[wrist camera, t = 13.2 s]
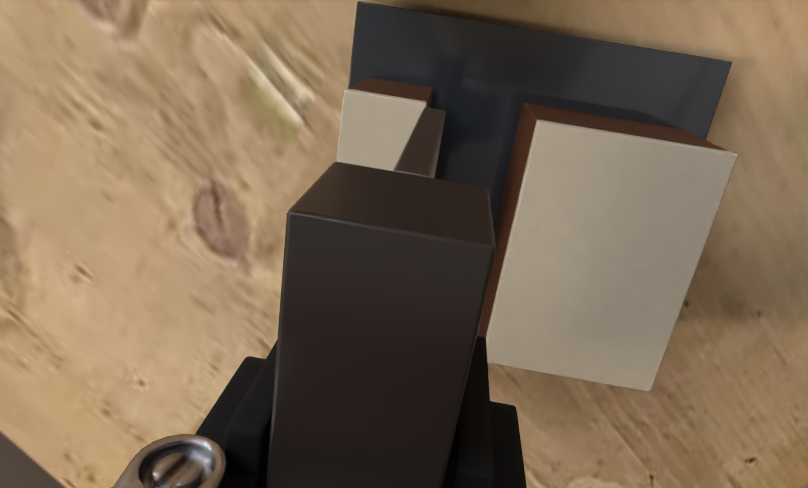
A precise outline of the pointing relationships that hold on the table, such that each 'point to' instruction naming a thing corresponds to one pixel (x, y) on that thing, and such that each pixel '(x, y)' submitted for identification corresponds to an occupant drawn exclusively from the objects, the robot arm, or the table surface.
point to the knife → (378, 321)
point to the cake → (598, 244)
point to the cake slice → (379, 121)
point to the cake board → (524, 82)
